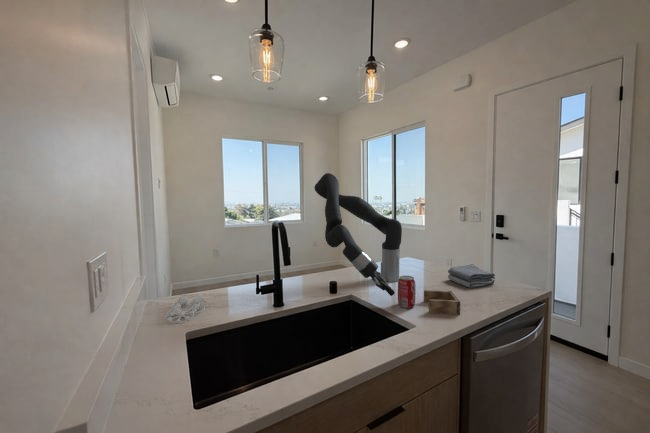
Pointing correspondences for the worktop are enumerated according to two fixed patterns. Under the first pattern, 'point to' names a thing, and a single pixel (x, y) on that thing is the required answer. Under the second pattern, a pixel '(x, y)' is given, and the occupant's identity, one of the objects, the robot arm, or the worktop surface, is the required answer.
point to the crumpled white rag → (180, 313)
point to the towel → (470, 276)
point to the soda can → (406, 291)
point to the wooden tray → (442, 302)
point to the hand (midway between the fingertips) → (393, 294)
